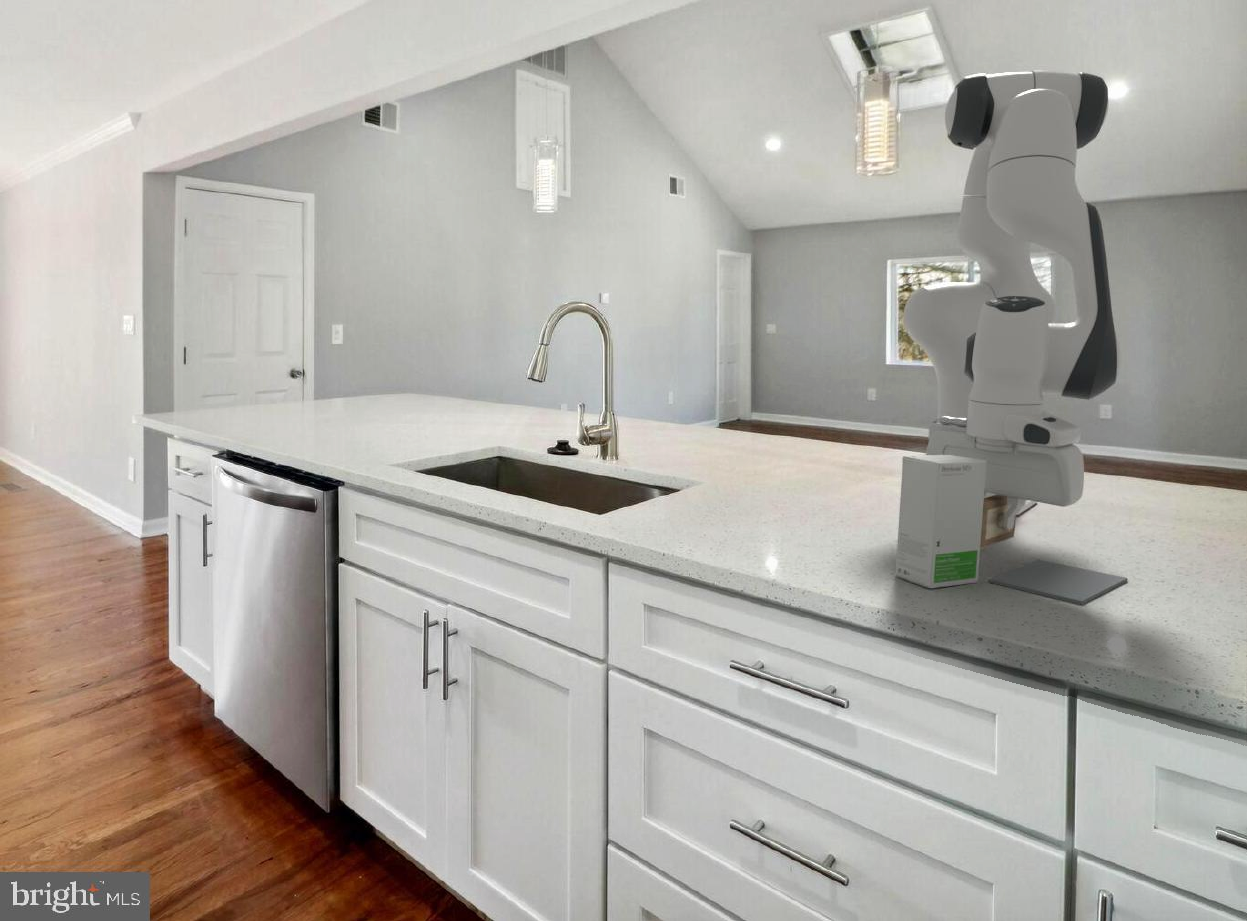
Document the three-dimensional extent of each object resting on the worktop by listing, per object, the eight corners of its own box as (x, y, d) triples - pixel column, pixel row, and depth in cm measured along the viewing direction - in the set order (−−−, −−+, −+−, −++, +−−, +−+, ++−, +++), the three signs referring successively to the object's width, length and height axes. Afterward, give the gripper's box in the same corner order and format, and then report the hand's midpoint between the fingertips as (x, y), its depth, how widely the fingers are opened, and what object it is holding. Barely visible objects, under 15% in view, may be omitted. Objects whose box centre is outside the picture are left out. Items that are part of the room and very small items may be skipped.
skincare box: (929, 590, 100) (937, 463, 97) (891, 575, 106) (898, 455, 103) (980, 582, 103) (990, 459, 100) (941, 568, 109) (949, 451, 106)
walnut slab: (1002, 534, 114) (1006, 491, 113) (1014, 536, 113) (1018, 494, 112) (968, 545, 108) (972, 501, 107) (980, 548, 107) (984, 503, 106)
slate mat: (1037, 562, 112) (1038, 559, 112) (1127, 581, 104) (1127, 578, 104) (988, 581, 103) (988, 578, 103) (1081, 604, 95) (1081, 601, 95)
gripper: (918, 416, 114) (910, 513, 116) (1072, 435, 98) (1060, 547, 101) (943, 412, 117) (935, 506, 120) (1095, 430, 102) (1083, 538, 104)
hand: (993, 525), depth 110 cm, fingers closed on walnut slab, 2 cm apart
